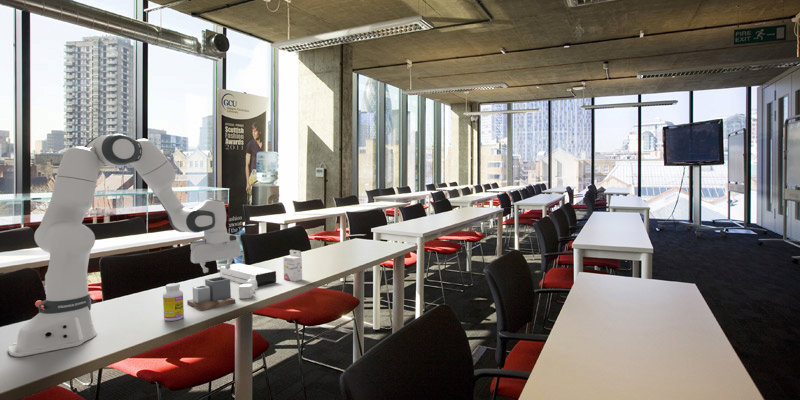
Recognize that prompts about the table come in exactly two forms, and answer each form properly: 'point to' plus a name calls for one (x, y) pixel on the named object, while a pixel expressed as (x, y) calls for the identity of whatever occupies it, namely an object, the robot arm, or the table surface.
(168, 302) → the supplement bottle
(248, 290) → the white dumbbell
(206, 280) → the dark grey square container
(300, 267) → the ink cartridge box
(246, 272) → the laminator
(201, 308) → the brown wooden tray
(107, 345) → the table surface
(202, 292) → the light grey square container
